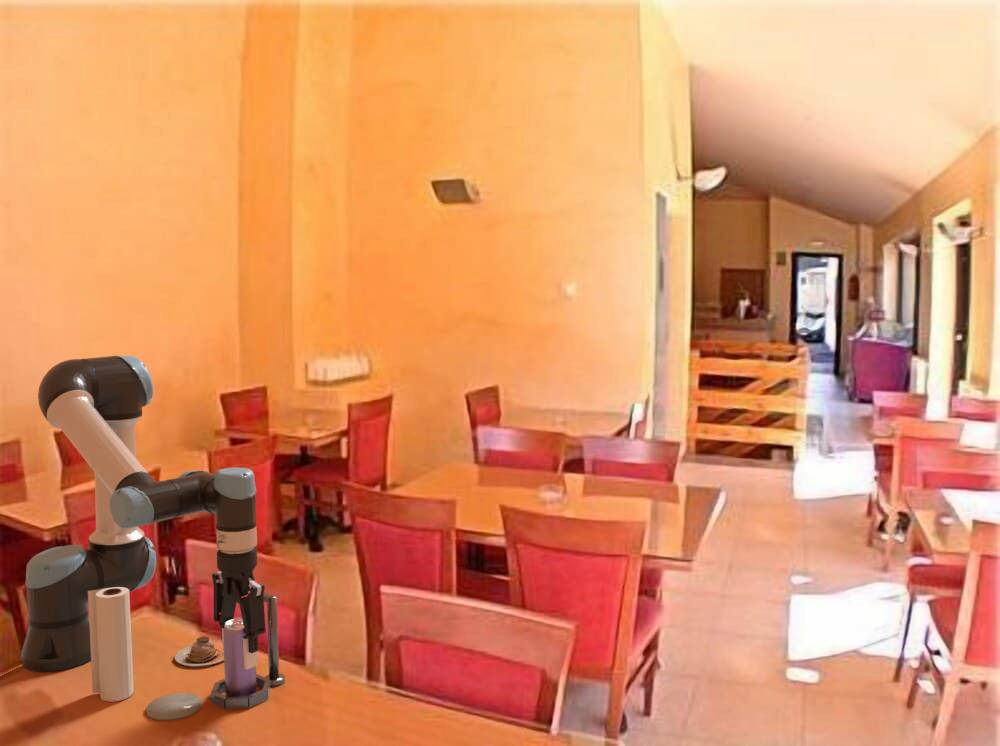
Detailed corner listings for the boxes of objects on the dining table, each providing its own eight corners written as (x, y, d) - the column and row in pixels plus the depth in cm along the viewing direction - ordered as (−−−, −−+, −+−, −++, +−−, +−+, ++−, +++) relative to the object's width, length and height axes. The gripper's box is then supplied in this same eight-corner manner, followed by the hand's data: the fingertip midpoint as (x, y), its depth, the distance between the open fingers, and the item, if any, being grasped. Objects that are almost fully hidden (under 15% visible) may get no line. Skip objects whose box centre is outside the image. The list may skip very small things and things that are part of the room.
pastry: (163, 661, 197) (162, 641, 197) (209, 643, 207) (208, 623, 206) (198, 675, 190) (197, 654, 190) (244, 655, 200) (243, 635, 200)
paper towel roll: (139, 695, 180) (134, 590, 178) (108, 705, 176) (103, 598, 174) (122, 684, 185) (118, 582, 183) (92, 694, 181) (87, 589, 179)
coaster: (135, 710, 174) (135, 706, 174) (182, 691, 182) (182, 688, 182) (165, 726, 168) (165, 722, 168) (212, 705, 176) (212, 702, 176)
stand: (201, 698, 179) (198, 609, 177) (266, 671, 192) (263, 588, 190) (235, 714, 173) (232, 623, 171) (299, 685, 185) (297, 599, 183)
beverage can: (248, 704, 177) (246, 629, 175) (219, 701, 178) (217, 627, 176) (262, 690, 183) (260, 618, 181) (234, 687, 184) (232, 615, 182)
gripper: (191, 543, 180) (195, 656, 182) (251, 562, 168) (254, 682, 171) (223, 535, 186) (227, 644, 188) (283, 553, 174) (286, 669, 177)
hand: (240, 662), depth 179 cm, fingers closed on beverage can, 6 cm apart
